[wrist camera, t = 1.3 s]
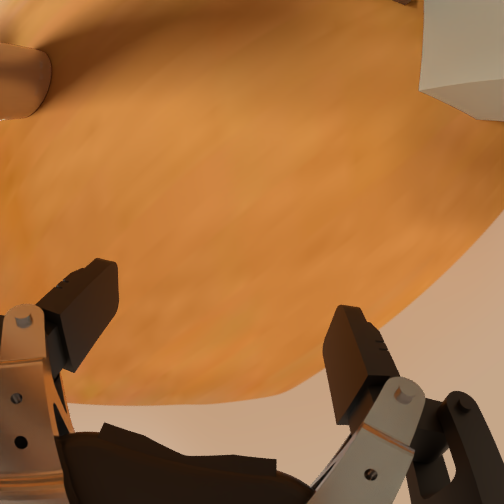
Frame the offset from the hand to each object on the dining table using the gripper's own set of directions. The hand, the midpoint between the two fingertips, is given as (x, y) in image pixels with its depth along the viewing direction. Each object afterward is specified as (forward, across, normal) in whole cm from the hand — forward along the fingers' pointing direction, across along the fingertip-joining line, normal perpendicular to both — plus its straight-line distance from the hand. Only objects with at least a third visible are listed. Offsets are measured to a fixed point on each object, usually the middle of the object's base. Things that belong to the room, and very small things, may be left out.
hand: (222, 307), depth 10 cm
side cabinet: (+21, +19, +26) cm, 38 cm away
